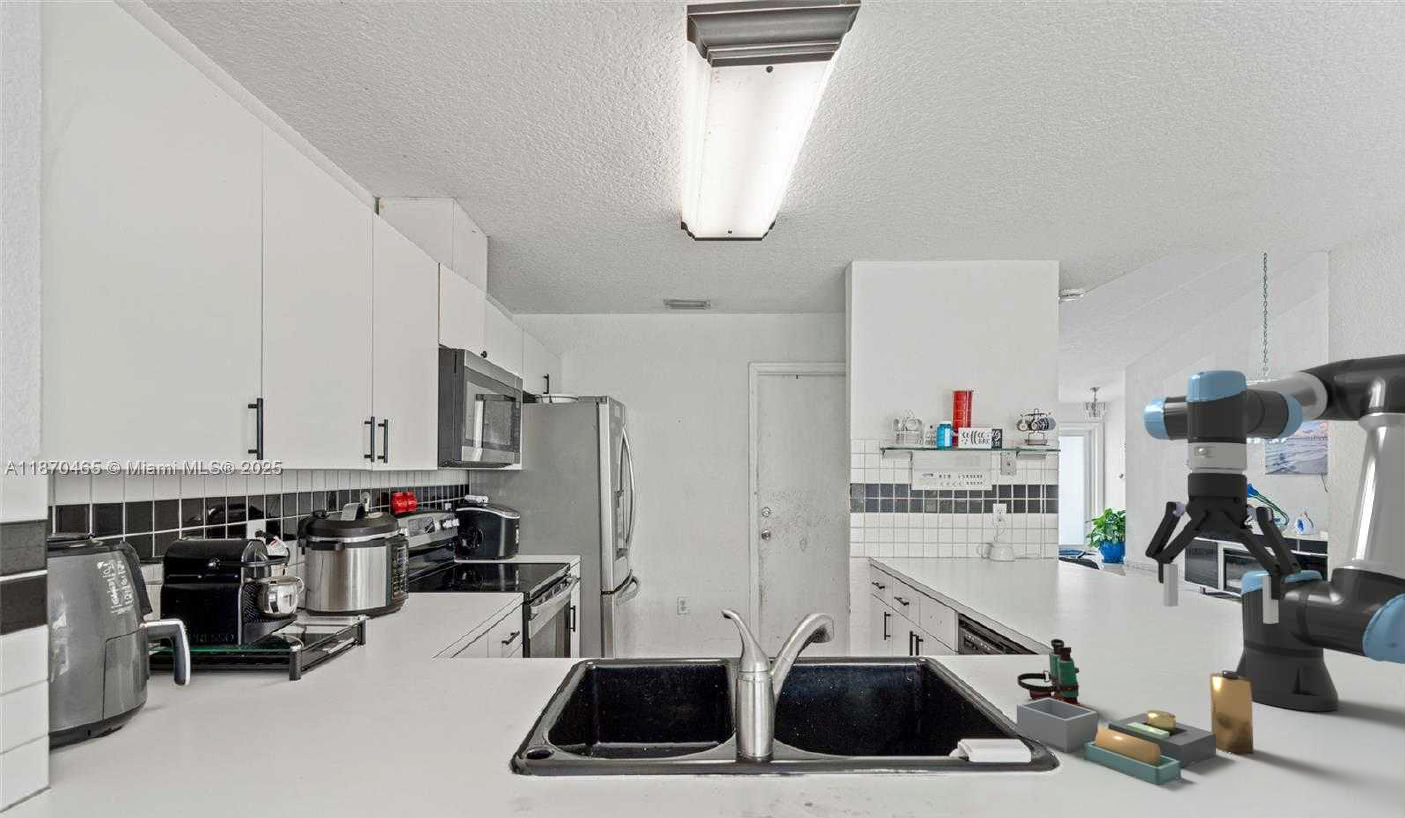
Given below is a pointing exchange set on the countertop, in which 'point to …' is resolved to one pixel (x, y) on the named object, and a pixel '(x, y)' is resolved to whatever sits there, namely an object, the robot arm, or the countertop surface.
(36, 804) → the countertop surface
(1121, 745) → the trough
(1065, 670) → the binoculars
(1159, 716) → the yellow rounded lump
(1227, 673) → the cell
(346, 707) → the countertop surface
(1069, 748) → the open box
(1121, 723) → the base
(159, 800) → the countertop surface
